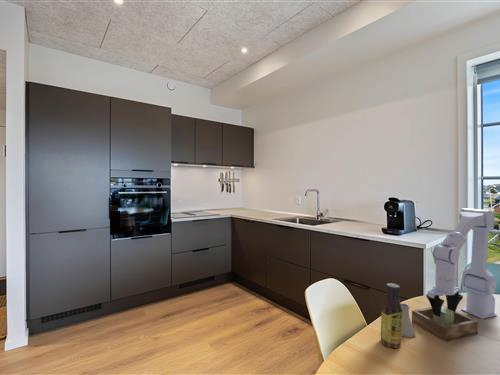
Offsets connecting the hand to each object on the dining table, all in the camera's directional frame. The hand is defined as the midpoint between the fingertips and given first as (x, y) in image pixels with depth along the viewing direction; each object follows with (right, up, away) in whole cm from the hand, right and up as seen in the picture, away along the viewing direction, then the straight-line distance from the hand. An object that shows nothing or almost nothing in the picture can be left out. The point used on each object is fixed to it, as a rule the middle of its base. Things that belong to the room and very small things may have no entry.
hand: (443, 313), depth 98 cm
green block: (0, -4, 0) cm, 4 cm away
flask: (-17, -5, -3) cm, 18 cm away
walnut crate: (0, -5, 0) cm, 5 cm away
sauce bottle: (-25, -5, -10) cm, 28 cm away
